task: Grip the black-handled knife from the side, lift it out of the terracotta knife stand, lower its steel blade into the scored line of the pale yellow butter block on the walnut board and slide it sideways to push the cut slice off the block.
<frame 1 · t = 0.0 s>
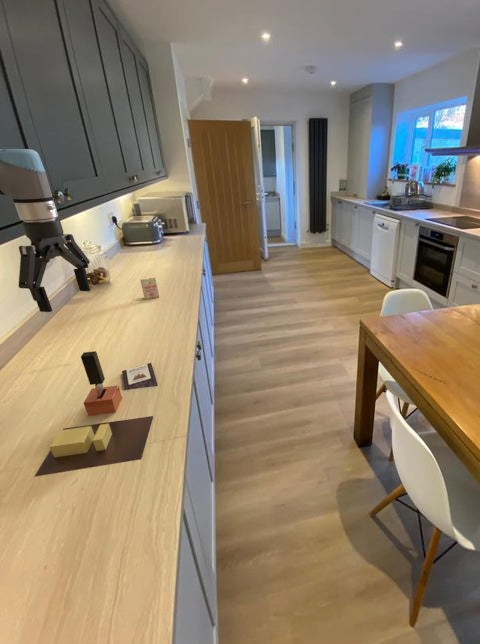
hand: (67, 300, 87), 30 cm above the countertop, tool pointing down, fingers open, 13 cm apart
knife: (98, 383, 87), in the knife stand
board: (101, 447, 79), on the countertop
tea bag: (151, 297, 165), on the countertop
knife stand: (107, 410, 91), on the countertop
butter slice: (104, 442, 79), point 1 cm above the countertop, touching board
butter: (75, 446, 78), point 1 cm above the countertop, touching board
chocolate bar: (140, 384, 102), on the countertop
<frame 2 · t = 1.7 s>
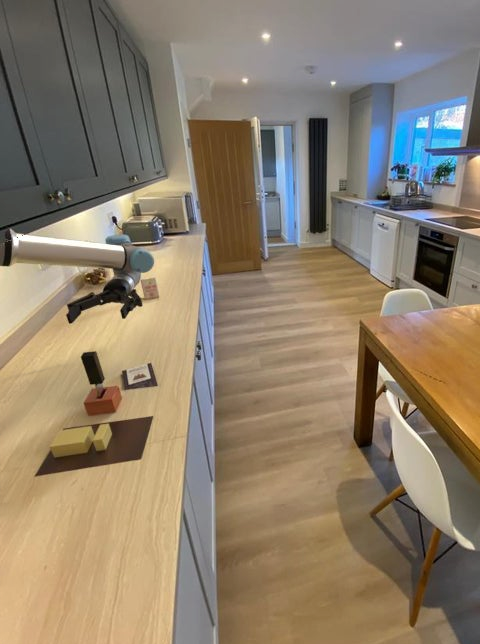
hand: (96, 316, 89), 25 cm above the countertop, tool horizontal, fingers open, 13 cm apart
nothing on the countertop moved.
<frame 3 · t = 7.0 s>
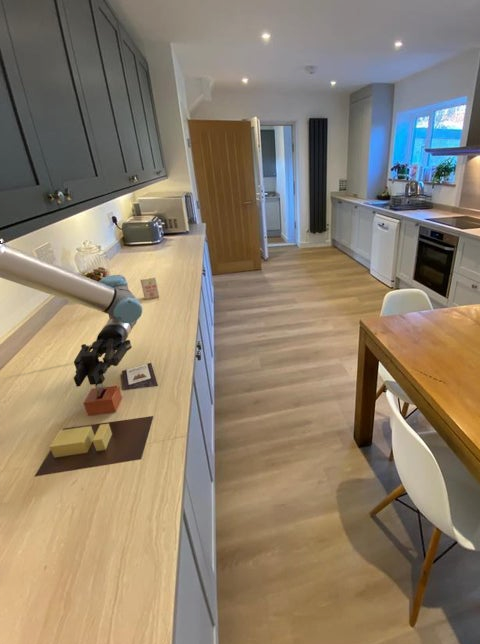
hand: (85, 381, 80), 15 cm above the countertop, tool horizontal, fingers closed on knife, 3 cm apart
knife: (98, 383, 87), in the knife stand, touching gripper
everything else where it was.
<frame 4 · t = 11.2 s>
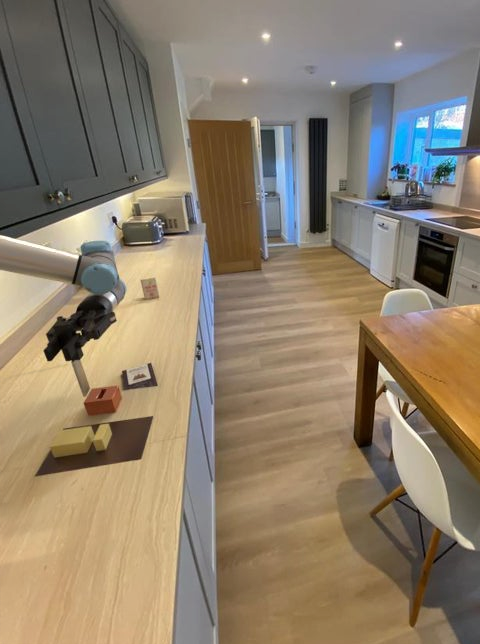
hand: (57, 354, 67), 28 cm above the countertop, tool horizontal, fingers closed on knife, 3 cm apart
knife: (75, 360, 74), point 23 cm above the countertop, touching gripper
everything else where it was.
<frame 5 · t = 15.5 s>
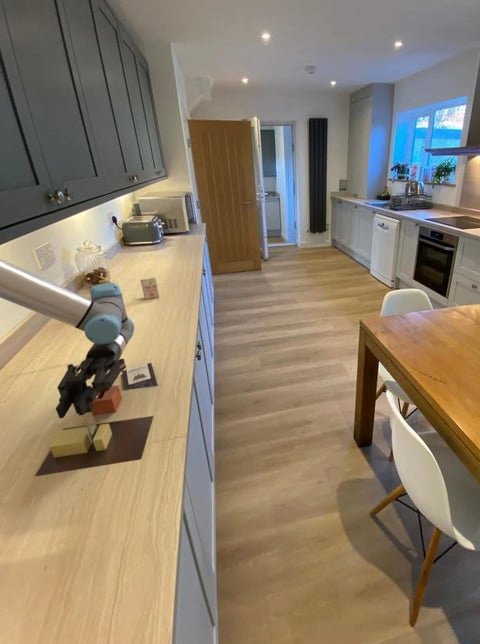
hand: (69, 411, 68), 17 cm above the countertop, tool horizontal, fingers closed on knife, 3 cm apart
knife: (86, 411, 75), point 12 cm above the countertop, touching gripper
everything else where it was.
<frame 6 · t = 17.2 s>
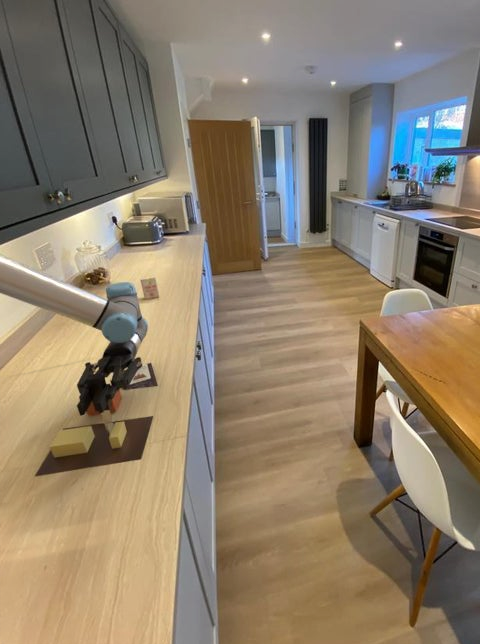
hand: (90, 409, 68), 17 cm above the countertop, tool horizontal, fingers closed on knife, 3 cm apart
knife: (104, 409, 75), point 12 cm above the countertop, touching butter slice, gripper
butter slice: (119, 440, 80), point 2 cm above the countertop, touching board, knife
everything else where it was.
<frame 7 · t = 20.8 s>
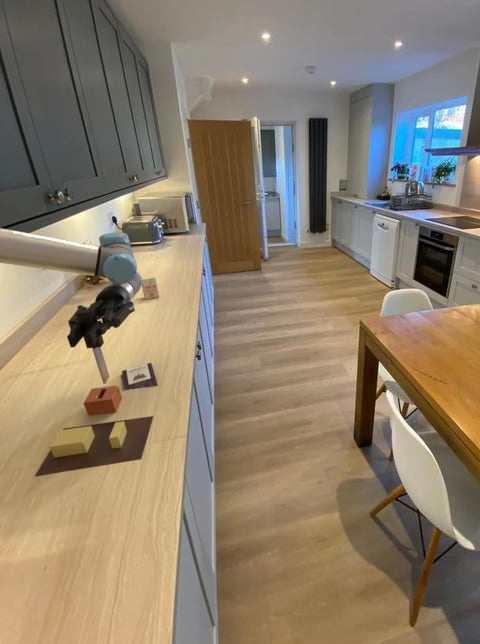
hand: (80, 340, 69), 30 cm above the countertop, tool horizontal, fingers closed on knife, 3 cm apart
knife: (96, 347, 75), point 25 cm above the countertop, touching gripper
butter slice: (120, 439, 80), point 1 cm above the countertop, touching board
everything else where it was.
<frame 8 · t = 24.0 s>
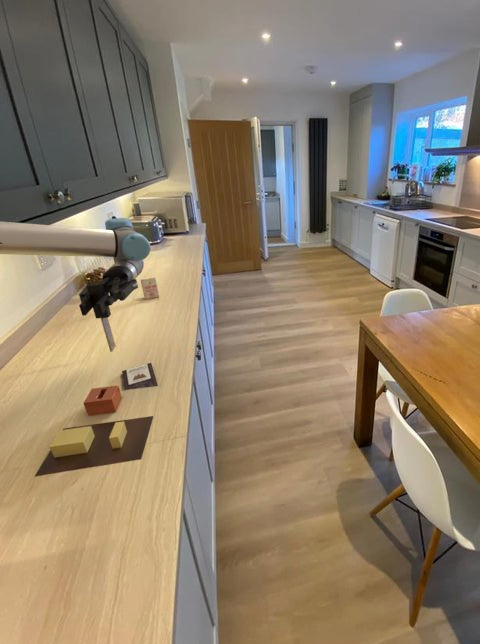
hand: (91, 309, 77), 32 cm above the countertop, tool horizontal, fingers closed on knife, 3 cm apart
knife: (104, 318, 84), point 27 cm above the countertop, touching gripper
everything else where it was.
at the end: butter slice 1.0 cm from the target spot on the countertop beside the butter, resting on board; butter moved 0.0 cm from its start; the gripper is holding knife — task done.
